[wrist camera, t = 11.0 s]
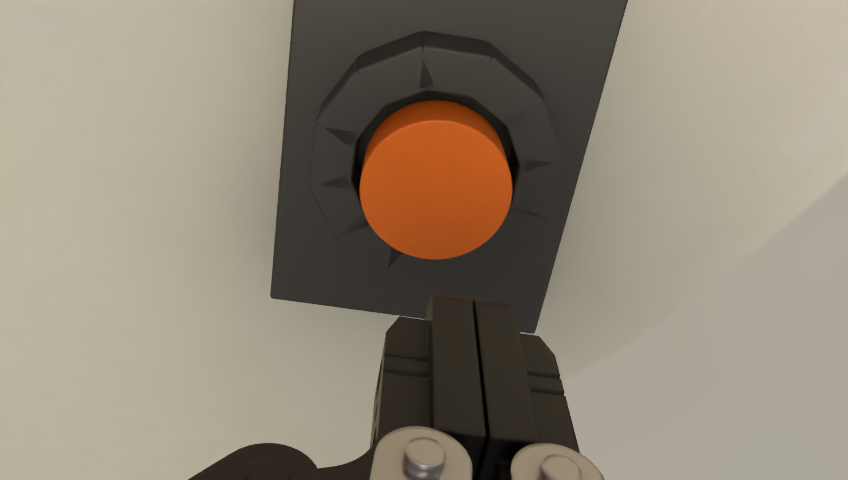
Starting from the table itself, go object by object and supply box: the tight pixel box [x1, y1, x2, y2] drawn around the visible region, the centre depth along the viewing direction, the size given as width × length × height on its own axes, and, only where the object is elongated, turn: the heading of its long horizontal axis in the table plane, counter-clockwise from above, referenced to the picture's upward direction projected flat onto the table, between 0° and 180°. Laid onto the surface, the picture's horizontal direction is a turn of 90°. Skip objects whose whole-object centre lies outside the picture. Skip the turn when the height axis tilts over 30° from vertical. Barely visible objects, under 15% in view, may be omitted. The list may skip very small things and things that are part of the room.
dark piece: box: [270, 0, 628, 333], centre depth 22 cm, size 12×9×4 cm
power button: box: [360, 100, 512, 259], centre depth 20 cm, size 4×4×2 cm
